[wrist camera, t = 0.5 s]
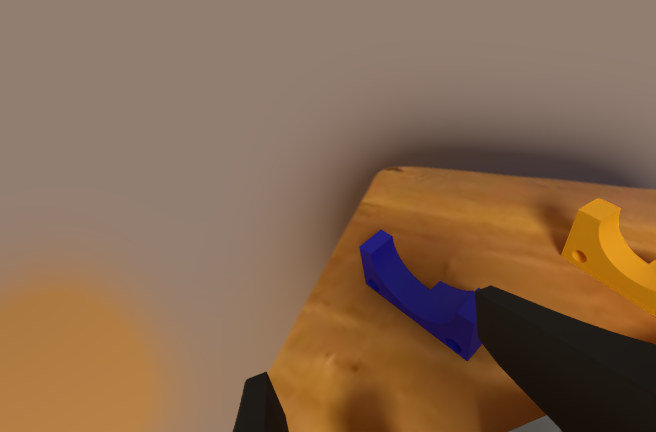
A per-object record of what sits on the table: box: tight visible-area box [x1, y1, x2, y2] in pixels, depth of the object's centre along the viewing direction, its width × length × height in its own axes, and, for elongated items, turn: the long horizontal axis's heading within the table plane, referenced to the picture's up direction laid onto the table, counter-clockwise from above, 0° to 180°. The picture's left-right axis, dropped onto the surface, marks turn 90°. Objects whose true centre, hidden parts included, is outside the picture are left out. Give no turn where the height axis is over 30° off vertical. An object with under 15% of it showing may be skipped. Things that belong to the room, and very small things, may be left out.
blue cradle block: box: [360, 230, 482, 361], centre depth 31 cm, size 12×4×6 cm, turn 41°
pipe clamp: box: [561, 198, 656, 317], centre depth 29 cm, size 12×4×6 cm, turn 27°
